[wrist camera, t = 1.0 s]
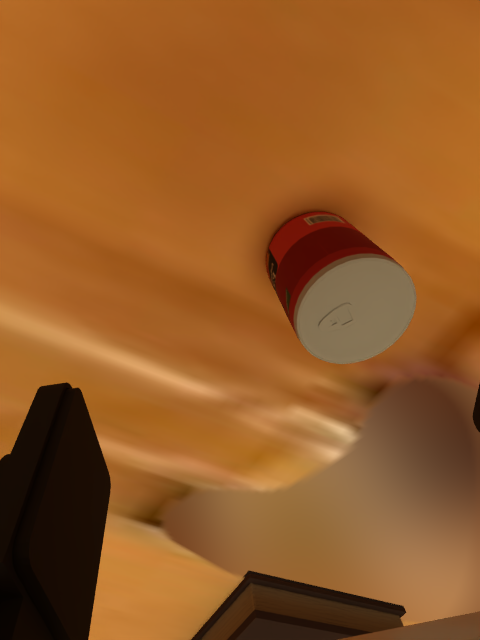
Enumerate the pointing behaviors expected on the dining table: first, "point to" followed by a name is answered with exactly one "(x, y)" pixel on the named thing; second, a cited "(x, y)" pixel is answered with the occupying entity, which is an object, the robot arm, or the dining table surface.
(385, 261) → the canned food
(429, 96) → the dining table surface
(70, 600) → the robot arm
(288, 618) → the book
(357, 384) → the dining table surface
